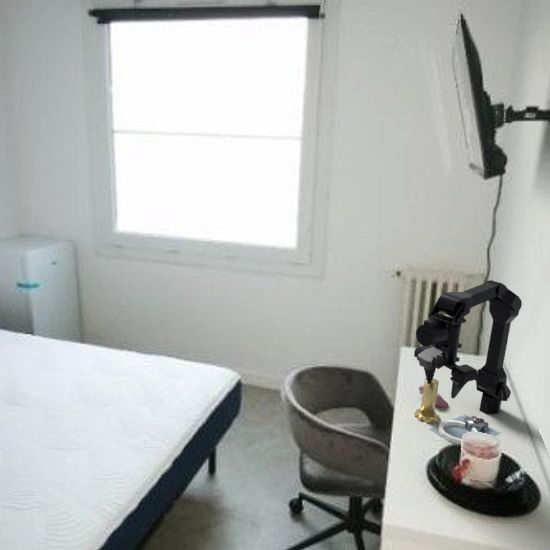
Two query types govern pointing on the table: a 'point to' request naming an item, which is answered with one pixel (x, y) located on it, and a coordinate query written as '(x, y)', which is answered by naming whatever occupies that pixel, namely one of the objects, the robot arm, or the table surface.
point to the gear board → (456, 430)
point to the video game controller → (439, 399)
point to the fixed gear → (476, 423)
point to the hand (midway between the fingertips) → (440, 390)
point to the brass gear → (428, 403)
